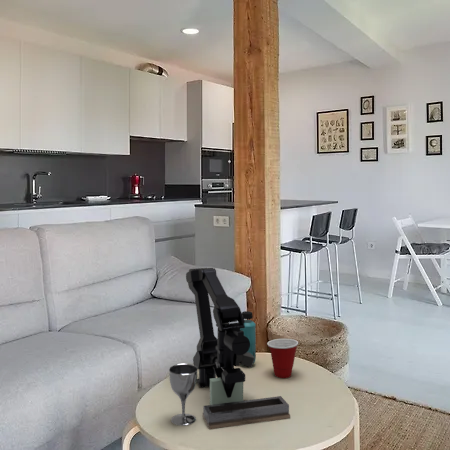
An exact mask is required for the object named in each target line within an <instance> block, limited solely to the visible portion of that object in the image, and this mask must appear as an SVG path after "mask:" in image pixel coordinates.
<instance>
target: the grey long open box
mask: <svg viewBox="0 0 450 450" xmlns="http://www.w3.org/2000/svg"><path fill="white" fill-rule="evenodd" d="M202 408H203V409H202V410H203V412H202V417H203V420H204V422H205V423H206V425H207V428H208V429H209V430H214V429H221V428H222V429H223V428H228V427H235V426H237V427H238V426H243V425H248V424H251V425H252V424H257V423H263V422H264V423H265V422H272V421H278V420H279V421H280V420H284V419H285V420H287V419H291V414H290V411H289V410H290V405H289V403H288V402H287V401H286V400H285V399H284V398H283V396H281V395H277V396H272V397H271V396H270V397H264V398H263V397H262V398H256V399H254V398H253V399H247V400H243V401H237V402H230V403H222V404H214V405H210V404H208V405H203V406H202Z"/></svg>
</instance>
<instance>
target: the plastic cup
mask: <svg viewBox="0 0 450 450" xmlns="http://www.w3.org/2000/svg"><path fill="white" fill-rule="evenodd" d="M266 344H267V346H268V348H269V351H270V355H271V362H272V367H273V373H274V376H275V378H279V379H288V378H291V376H292V374H293V373H292V372H293V367H294V364H295V358H296V357H295V356H296V352H297V348H298V345H299V341H298V340H296V339H293V338H292V339H291V338H276V339H272V340H269V341H268V342H267V343H266Z"/></svg>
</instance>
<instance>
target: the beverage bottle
mask: <svg viewBox="0 0 450 450" xmlns="http://www.w3.org/2000/svg"><path fill="white" fill-rule="evenodd" d="M241 313H242V315H243V318H244V321H245V323H244V325H245V328H240V330H242V331H244V335H245V336H246V337H247V338H248V339H249V341H250V348H249V350H248V351H247V352H249V353H251V354H252V355H253V356H254V357H255V359H254V362H253V364H255V363H256V359H257V348H256V347H257V342H256V340H257V339H256V338H257V337H256V336H257V335H256V326H257V325H256V323H255V322H254V321H253V320H252V319H253V318H254V317H253V311H249V310H248V311H247V310H246V311H241Z"/></svg>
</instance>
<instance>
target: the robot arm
mask: <svg viewBox="0 0 450 450" xmlns="http://www.w3.org/2000/svg"><path fill="white" fill-rule="evenodd" d="M218 277H219V276H218V275H217V270H216V268H213V267H200V268H199V267H198V268H189V270H188V271H187V272H186V274H185V280H186V283H187V286H188V289H189V290H190V292H191V293H192V294H193V295H194V301H195V309H196V315H197V323H198V329H199V340H198V342H197V344H196V352H195V354H194V355H193V358H192V360H193V361H192V365H194V366H196V367H197V370H198V378H197V382H196V384H197V385H198V386H199V388H201V389H202V388H210V379H212V378H220V379H221V382H222V384H223V387H224V390H225V393H226V395H227V398H230V397H231V395H232V392H233V389H234V386H235V383H238V382H243V383H245V382H246V374H245V372H244V371H243V370H242V369H241V368H240V365H242V366H247V367H248V368H252V367H253V364H254V363H253V362H254V359H255V357H254V356H253V355H252V354H251V353H249V352H247V351H248V350H249V348H250V341H249V339H248V338H247V337H246V336H245V335H244V331H242V330H240V328H245V325H244V323H245V321H244V320H245V319H244V318H243V315H242V310H241V308H240V306H239V304H238V303H237V301H235V299H234V298H232V297H230V296H229V295H227V291H226V290H225V289H224V287H223V285H222V283H221V281H220V279H219V278H218ZM210 300H211V301H212V304H213V309H211V303H210ZM211 310H212V311H211ZM212 313H213V317H212ZM213 318H214V321H215V326H216V327H217V337H216V336H215V332H214V331H215V330H214V324H213Z"/></svg>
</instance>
